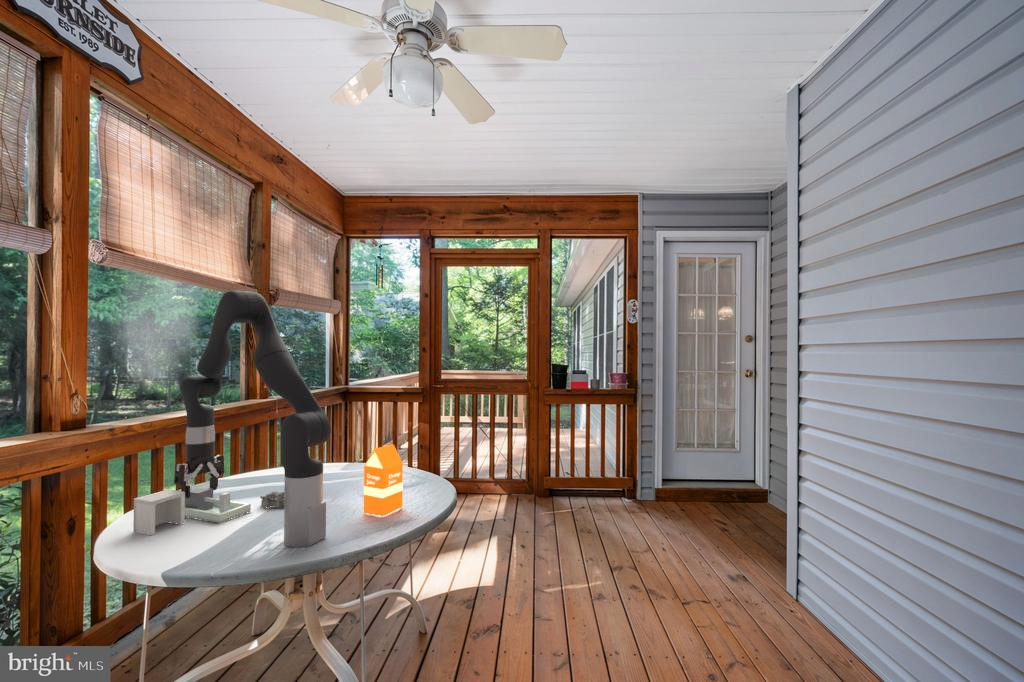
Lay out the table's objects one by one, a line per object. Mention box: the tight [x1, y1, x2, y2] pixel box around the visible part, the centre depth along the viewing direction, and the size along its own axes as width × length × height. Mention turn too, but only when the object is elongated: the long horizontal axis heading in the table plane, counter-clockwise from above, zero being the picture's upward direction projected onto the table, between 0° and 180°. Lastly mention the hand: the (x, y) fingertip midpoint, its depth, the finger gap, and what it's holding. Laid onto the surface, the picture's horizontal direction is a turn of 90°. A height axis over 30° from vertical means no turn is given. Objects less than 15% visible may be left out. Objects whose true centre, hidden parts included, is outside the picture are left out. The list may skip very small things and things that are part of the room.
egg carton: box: [260, 491, 284, 509], centre depth 150 cm, size 11×8×4 cm
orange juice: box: [363, 443, 404, 516], centre depth 143 cm, size 8×9×20 cm
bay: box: [132, 488, 186, 536], centre depth 130 cm, size 7×9×9 cm
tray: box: [185, 500, 252, 524], centre depth 142 cm, size 20×10×2 cm, turn 70°
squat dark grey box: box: [185, 486, 231, 513], centre depth 142 cm, size 15×5×6 cm, turn 70°
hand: (200, 493), depth 143 cm, fingers open, 8 cm apart
